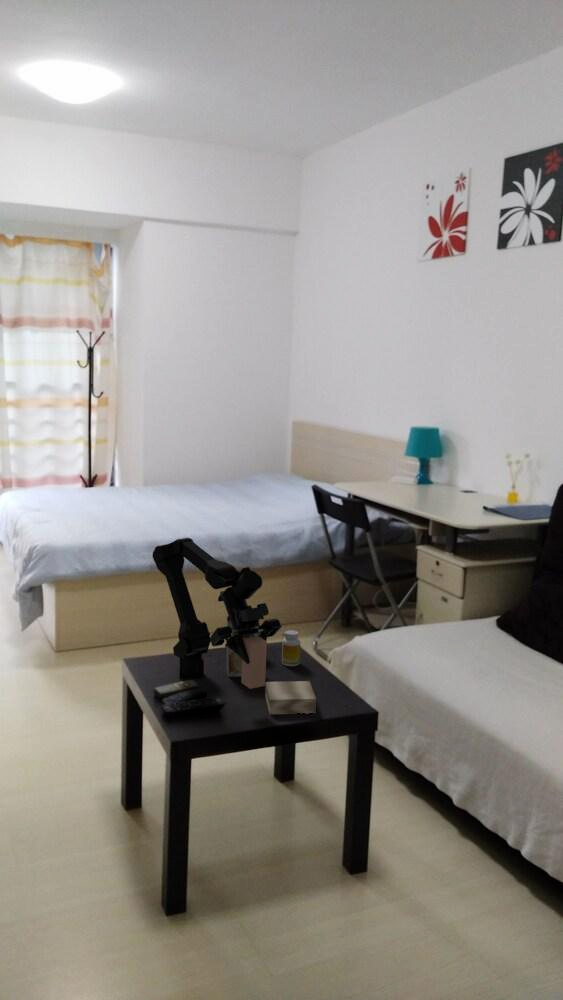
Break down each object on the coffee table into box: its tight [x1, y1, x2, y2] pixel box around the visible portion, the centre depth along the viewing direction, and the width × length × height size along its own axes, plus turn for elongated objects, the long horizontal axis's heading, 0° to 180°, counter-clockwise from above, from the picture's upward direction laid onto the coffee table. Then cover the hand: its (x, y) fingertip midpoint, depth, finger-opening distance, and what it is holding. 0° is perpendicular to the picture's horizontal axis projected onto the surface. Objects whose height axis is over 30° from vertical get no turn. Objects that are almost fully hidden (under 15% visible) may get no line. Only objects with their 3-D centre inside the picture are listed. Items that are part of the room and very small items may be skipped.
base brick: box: [264, 680, 317, 715], centre depth 229 cm, size 12×12×4 cm
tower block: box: [240, 636, 268, 690], centre depth 223 cm, size 4×4×12 cm
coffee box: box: [226, 619, 260, 678], centre depth 249 cm, size 9×6×16 cm
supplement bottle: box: [281, 629, 301, 667], centre depth 258 cm, size 5×5×10 cm
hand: (256, 661), depth 222 cm, fingers closed on tower block, 4 cm apart
